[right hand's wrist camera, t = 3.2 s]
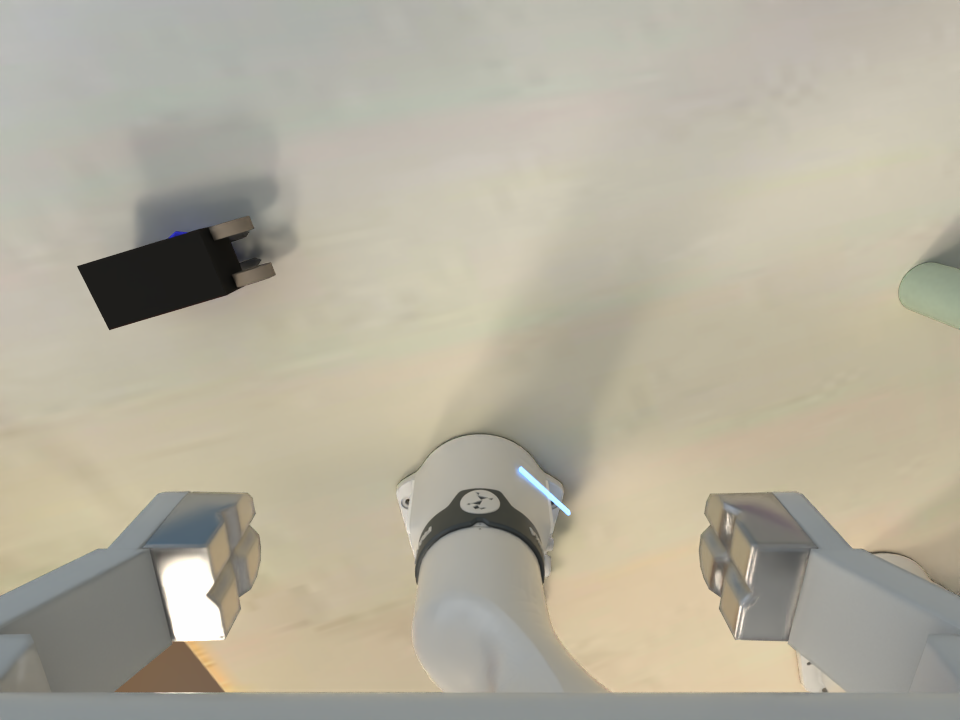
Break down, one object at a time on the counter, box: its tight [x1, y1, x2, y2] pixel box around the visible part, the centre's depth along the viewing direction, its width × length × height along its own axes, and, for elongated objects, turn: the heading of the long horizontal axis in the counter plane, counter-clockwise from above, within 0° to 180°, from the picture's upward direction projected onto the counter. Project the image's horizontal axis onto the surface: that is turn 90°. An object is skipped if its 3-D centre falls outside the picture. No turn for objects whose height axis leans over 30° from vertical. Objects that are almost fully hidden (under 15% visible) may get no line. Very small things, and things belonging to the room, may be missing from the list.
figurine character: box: [77, 216, 276, 330], centre depth 54 cm, size 7×8×15 cm
